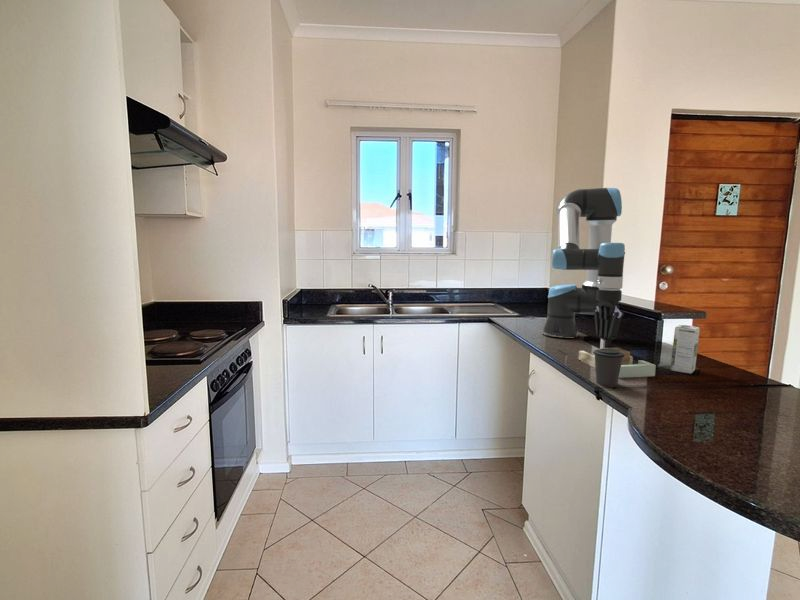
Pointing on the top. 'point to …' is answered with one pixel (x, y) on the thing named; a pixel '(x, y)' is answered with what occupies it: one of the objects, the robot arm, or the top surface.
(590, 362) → the tunnel
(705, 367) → the top surface
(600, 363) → the coffee cup
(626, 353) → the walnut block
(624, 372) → the backstop bay
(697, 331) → the syrup box
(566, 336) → the robot arm
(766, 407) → the top surface
